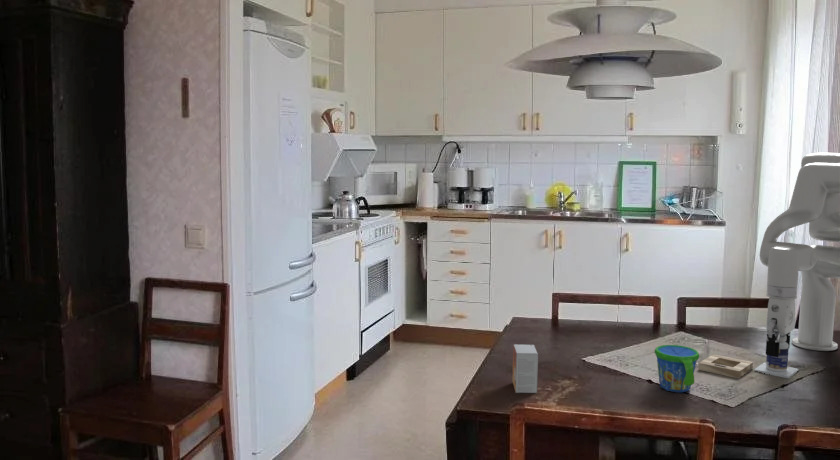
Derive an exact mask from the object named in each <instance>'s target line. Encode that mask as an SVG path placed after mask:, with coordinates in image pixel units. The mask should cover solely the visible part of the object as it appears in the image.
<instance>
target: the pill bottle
mask: <svg viewBox="0 0 840 460" xmlns="http://www.w3.org/2000/svg"><path fill="white" fill-rule="evenodd" d="M775 337H776V335H775ZM786 340H787V336H786V335H782V334H780V337H779V341H778V342H779V356H778V357H774V356H769V355H766V360H765V361H766V368H768V369H770V370H773V371H786V370H787V367H788V363H789V362H788V361H789V349H790V346H789V345H788V344H787V343H786V342H785V341H786Z"/></svg>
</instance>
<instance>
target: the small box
mask: <svg viewBox="0 0 840 460" xmlns="http://www.w3.org/2000/svg"><path fill="white" fill-rule="evenodd" d="M512 349H513V350H512V378H511V379H512V384H513V388H514V392H515V393H516V394H521V393H522V394H523V393H524V394H537V393H538V371H539V370H538V368H539V353H538V351H537V349H536V346H535V344H516V343H515V344H513V346H512Z"/></svg>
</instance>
